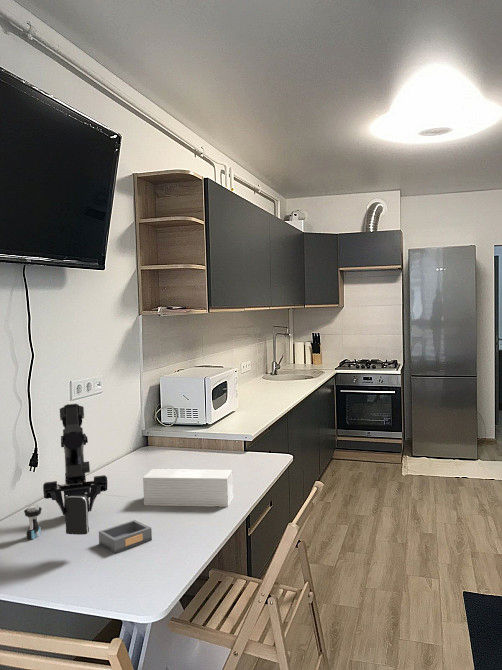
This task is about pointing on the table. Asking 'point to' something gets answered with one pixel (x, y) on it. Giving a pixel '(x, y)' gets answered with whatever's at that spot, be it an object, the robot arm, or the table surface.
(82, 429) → the robot arm
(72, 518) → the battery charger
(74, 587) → the table surface
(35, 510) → the push button
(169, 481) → the stack of papers
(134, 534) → the tray
